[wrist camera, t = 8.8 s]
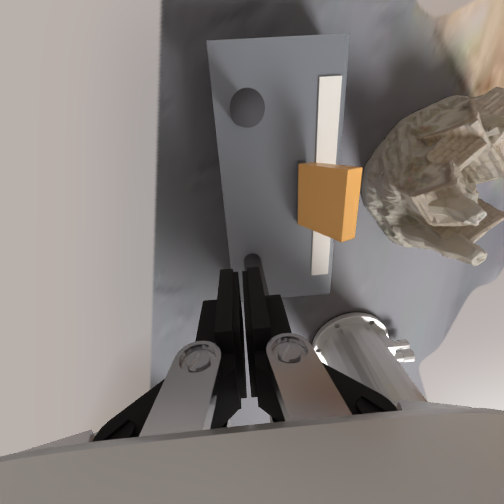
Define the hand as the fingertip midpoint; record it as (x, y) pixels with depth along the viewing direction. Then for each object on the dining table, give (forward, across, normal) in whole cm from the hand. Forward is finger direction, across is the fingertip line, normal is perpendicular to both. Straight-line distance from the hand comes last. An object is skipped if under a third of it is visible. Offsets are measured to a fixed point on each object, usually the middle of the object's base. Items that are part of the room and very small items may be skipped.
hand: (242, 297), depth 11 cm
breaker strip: (+23, -4, -1) cm, 23 cm away
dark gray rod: (+17, -1, -8) cm, 19 cm away
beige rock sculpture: (+24, -24, 0) cm, 33 cm away
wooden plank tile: (+17, -7, -1) cm, 18 cm away
